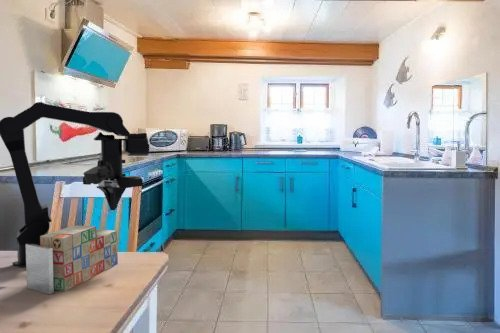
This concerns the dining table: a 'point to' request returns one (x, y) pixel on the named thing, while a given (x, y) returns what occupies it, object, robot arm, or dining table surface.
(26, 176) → the robot arm
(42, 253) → the bookend
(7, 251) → the dining table surface
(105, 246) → the stack of blocks
